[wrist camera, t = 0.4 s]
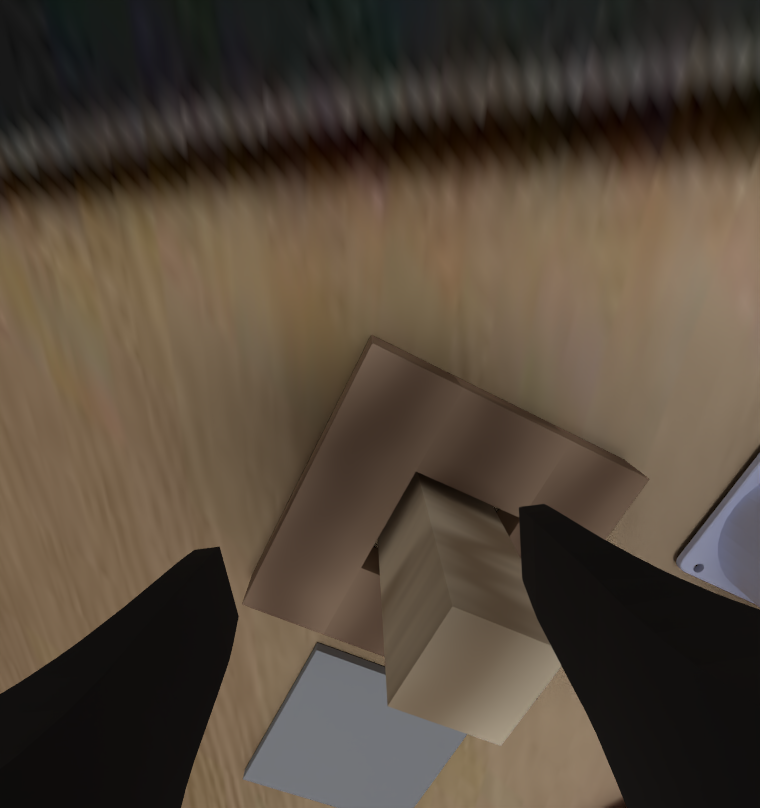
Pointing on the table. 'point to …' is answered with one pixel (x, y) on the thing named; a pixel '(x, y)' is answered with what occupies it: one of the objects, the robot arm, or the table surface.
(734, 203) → the table surface
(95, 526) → the table surface
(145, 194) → the table surface
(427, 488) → the maple plug
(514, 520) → the brown square hole board
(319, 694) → the pad
